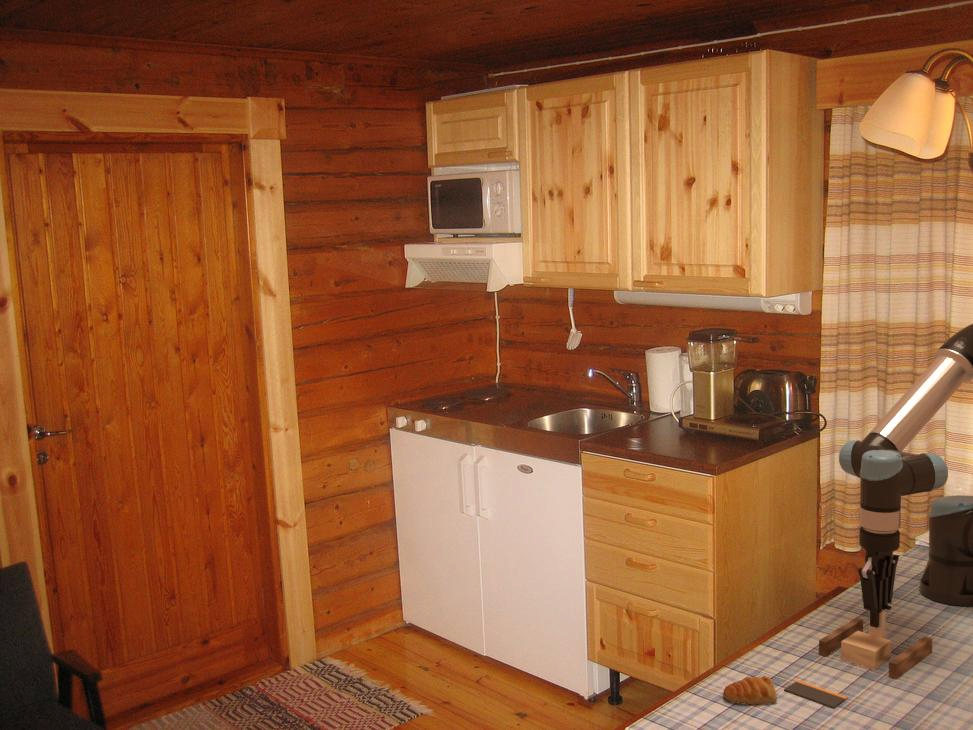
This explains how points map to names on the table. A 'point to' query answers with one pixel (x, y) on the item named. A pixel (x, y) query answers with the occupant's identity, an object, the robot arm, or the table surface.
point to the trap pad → (815, 694)
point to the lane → (896, 665)
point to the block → (866, 649)
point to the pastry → (751, 691)
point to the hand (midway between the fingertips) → (876, 640)
